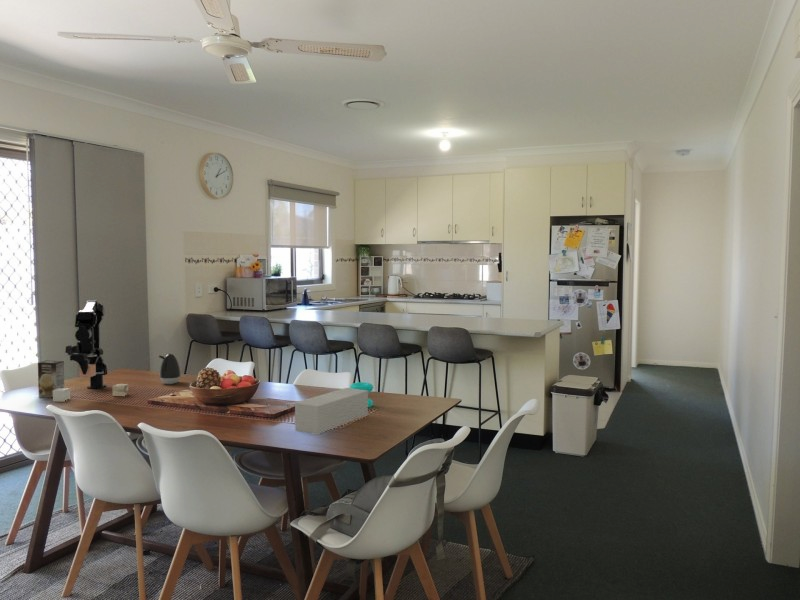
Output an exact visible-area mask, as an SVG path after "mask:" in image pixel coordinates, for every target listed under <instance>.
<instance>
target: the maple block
mask: <svg viewBox="0 0 800 600" xmlns="http://www.w3.org/2000/svg"><path fill="white" fill-rule="evenodd" d="M127 394H128V395H129V383H116V384H115V385H112V397H113V396H124V397H126V396H128V395H127ZM125 395H126V396H125Z"/></svg>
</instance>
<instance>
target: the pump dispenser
mask: <svg viewBox="0 0 800 600" xmlns="http://www.w3.org/2000/svg"><path fill="white" fill-rule="evenodd" d="M158 358H160V359H161V360H162V362H161V365H160V368H159V378H160V382H162V383H163V384H164V385H174V383H175V384H177V383H179V381H180V378H181V377H182V372H181V368H180V364H179V361H178V359H177V357H176V355H174V354H173V353H167V354H166V355H159V356H158Z"/></svg>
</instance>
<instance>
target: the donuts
mask: <svg viewBox="0 0 800 600" xmlns="http://www.w3.org/2000/svg"><path fill="white" fill-rule="evenodd" d="M349 388H352V389H359V390H367V391H368V394H369V393H371V392H372V391H373V389H374V385H373V384H372V383H370V382H363V381H362V382H361V381H360V382H354V383H351V384H350V385H349ZM367 403H368V407H370V406H372V405H374V401H373V400H372V399H371V398H369V397H368V402H367ZM372 407H373V406H372ZM370 408H371V407H370Z"/></svg>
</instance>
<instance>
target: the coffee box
mask: <svg viewBox="0 0 800 600" xmlns="http://www.w3.org/2000/svg"><path fill="white" fill-rule="evenodd" d="M64 361H65V360H64ZM64 361H63V360H50V359H49V360H48V359H47V360H42V361H40V362H37V376H38V378H37V381H38V385H37V387H38V398H51V397H53V390H55V389H58V388H65V362H64Z"/></svg>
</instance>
